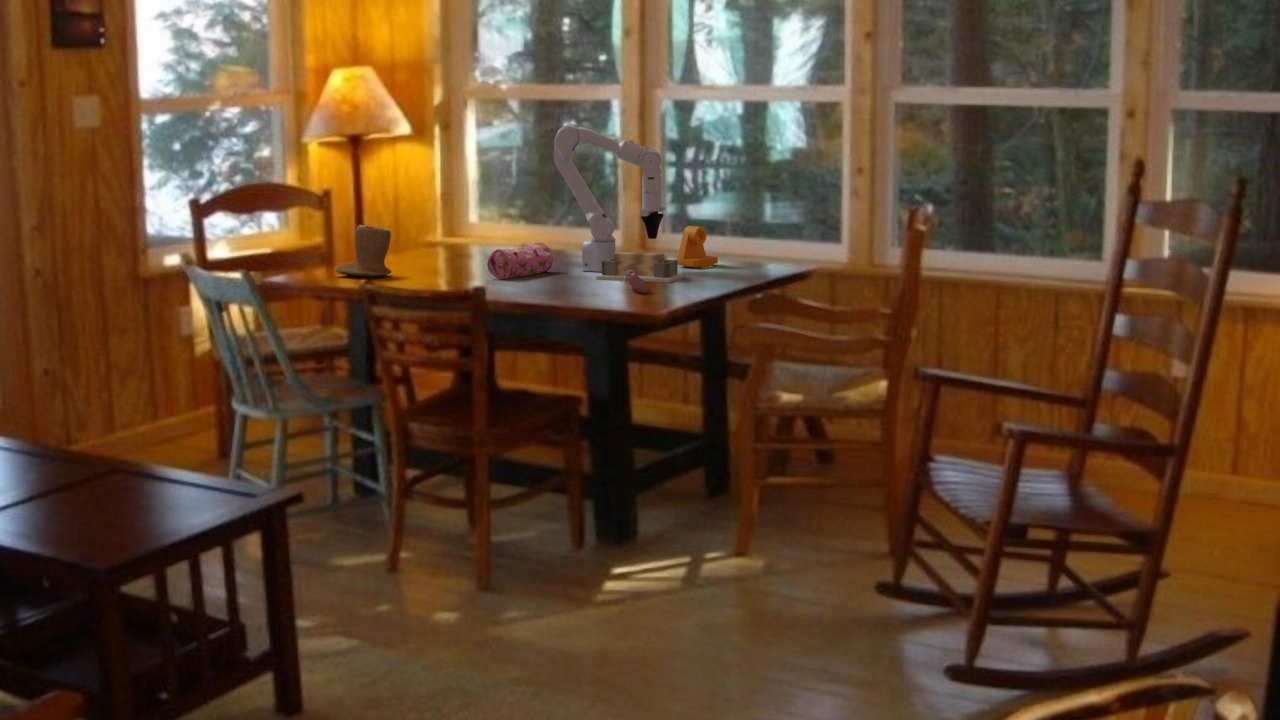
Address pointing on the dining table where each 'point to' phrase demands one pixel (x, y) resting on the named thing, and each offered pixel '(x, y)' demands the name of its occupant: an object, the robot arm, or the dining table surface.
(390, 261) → the dining table surface
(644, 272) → the wooden block
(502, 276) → the pencil case
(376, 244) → the top hat
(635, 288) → the pink rounded piece
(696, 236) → the bracket
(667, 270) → the cradle
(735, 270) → the dining table surface
